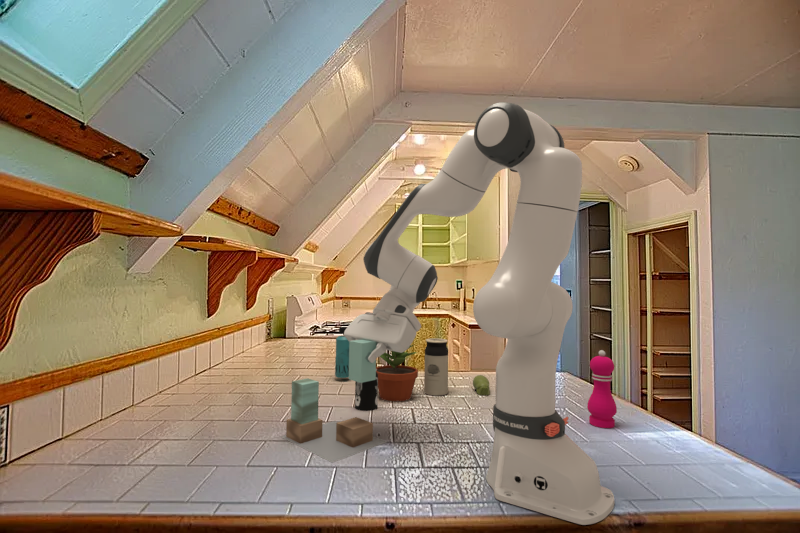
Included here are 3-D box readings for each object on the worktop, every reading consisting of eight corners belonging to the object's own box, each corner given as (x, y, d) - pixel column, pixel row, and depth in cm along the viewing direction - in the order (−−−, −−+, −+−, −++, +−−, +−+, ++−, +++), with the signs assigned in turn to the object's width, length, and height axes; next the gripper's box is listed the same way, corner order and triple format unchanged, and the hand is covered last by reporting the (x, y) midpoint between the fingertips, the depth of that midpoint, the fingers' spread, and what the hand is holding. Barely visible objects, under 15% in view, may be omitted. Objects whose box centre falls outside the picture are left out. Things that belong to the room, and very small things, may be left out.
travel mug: (432, 388, 151) (432, 337, 151) (452, 392, 146) (452, 339, 147) (419, 393, 144) (420, 340, 145) (440, 397, 140) (440, 342, 140)
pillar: (375, 379, 101) (376, 341, 101) (361, 382, 98) (361, 343, 98) (363, 376, 104) (363, 339, 104) (348, 379, 101) (349, 340, 101)
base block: (372, 440, 99) (372, 423, 100) (352, 447, 95) (353, 429, 95) (355, 433, 104) (356, 417, 104) (336, 440, 99) (336, 422, 99)
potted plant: (412, 405, 130) (413, 307, 131) (366, 400, 135) (367, 305, 136) (425, 393, 144) (426, 304, 145) (383, 389, 149) (384, 303, 150)
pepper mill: (620, 424, 116) (620, 350, 117) (611, 431, 111) (611, 353, 111) (592, 418, 121) (592, 347, 121) (583, 424, 116) (583, 350, 116)
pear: (487, 373, 152) (493, 384, 142) (486, 387, 153) (492, 399, 143) (471, 372, 152) (476, 384, 142) (470, 386, 153) (475, 399, 143)
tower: (322, 436, 101) (323, 381, 102) (300, 443, 97) (301, 385, 97) (307, 430, 105) (308, 377, 106) (286, 436, 101) (287, 381, 101)
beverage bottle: (332, 381, 159) (333, 327, 160) (337, 377, 166) (338, 325, 166) (349, 382, 158) (350, 328, 159) (354, 378, 165) (354, 326, 165)
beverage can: (374, 415, 121) (374, 372, 121) (351, 413, 122) (352, 371, 123) (379, 408, 127) (380, 367, 128) (358, 406, 129) (359, 366, 129)
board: (387, 446, 99) (387, 441, 99) (332, 467, 87) (332, 462, 87) (334, 424, 113) (334, 420, 113) (280, 440, 101) (280, 436, 101)
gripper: (357, 304, 113) (326, 344, 106) (414, 309, 99) (383, 356, 92) (369, 319, 116) (340, 360, 109) (426, 327, 102) (397, 374, 95)
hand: (360, 359), depth 100 cm, fingers closed on pillar, 4 cm apart
